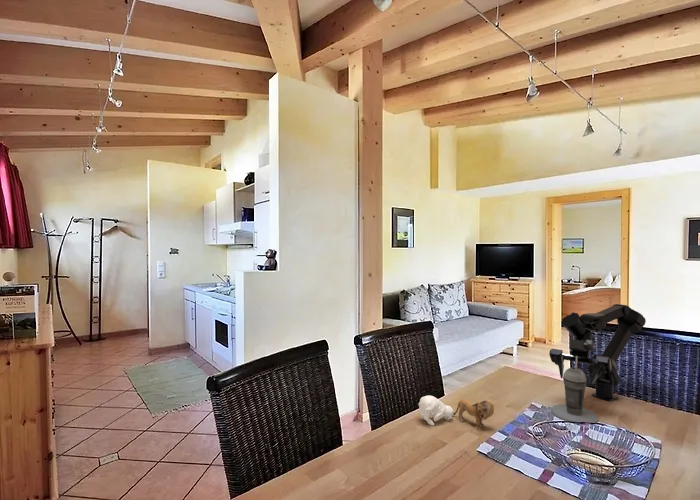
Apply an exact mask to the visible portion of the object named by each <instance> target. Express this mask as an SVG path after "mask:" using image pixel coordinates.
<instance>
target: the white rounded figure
mask: <svg viewBox="0 0 700 500" xmlns="http://www.w3.org/2000/svg"><path fill="white" fill-rule="evenodd" d="M418 407H419V409H418V410H419V414H420V417H421V418H422V419H423V420H424V421H426V422H427V424H428V425H430V426H432V427H434V426H435V423H434V422H437V421H440V419H442V418H444V420H445V421H446V420H447V421H450V420H451V419H452V417H453V416H454V415H453V413H454V409H453V408H452V407H451V406H450V405H448V404H447V405H446V404H444V403H443V402H442V401H441V400H440V399H438V398H437V397H435V396H433V395H425V396H422V397H421V398H420V399H419V402H418ZM430 416H433V420H432V419H430Z"/></svg>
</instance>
